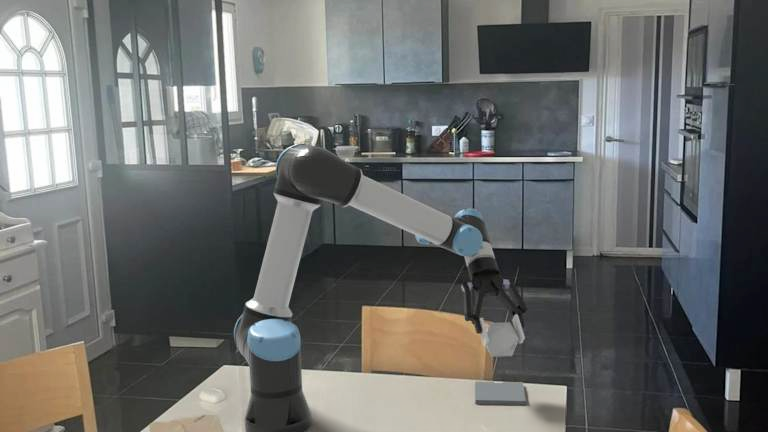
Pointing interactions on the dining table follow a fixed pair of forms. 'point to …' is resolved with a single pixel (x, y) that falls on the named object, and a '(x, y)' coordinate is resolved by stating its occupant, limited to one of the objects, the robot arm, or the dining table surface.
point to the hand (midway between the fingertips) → (504, 342)
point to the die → (501, 339)
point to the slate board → (499, 393)
